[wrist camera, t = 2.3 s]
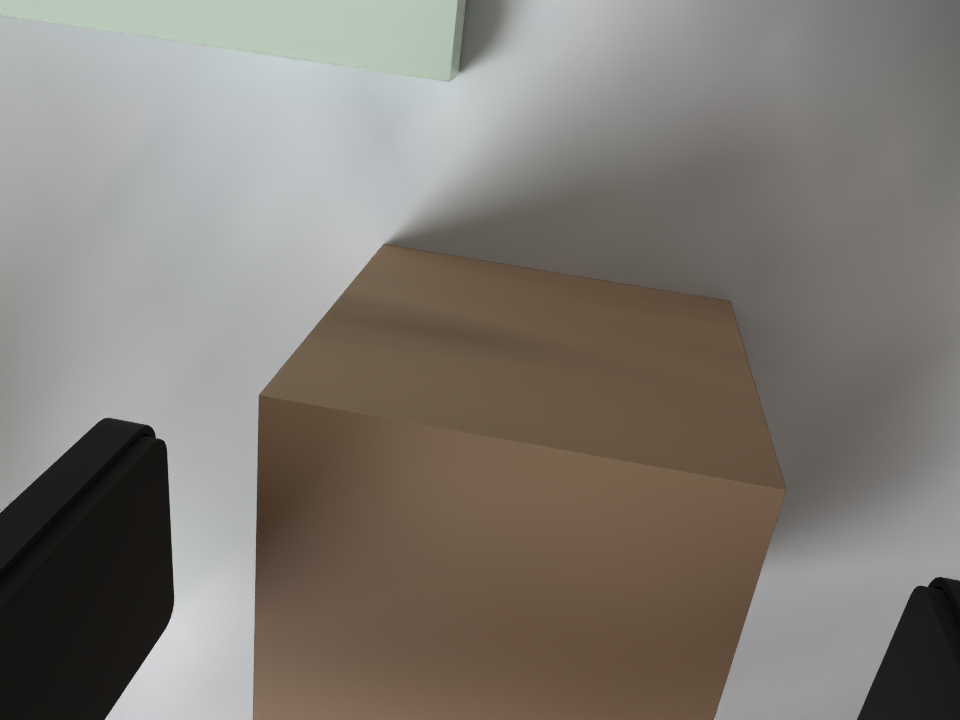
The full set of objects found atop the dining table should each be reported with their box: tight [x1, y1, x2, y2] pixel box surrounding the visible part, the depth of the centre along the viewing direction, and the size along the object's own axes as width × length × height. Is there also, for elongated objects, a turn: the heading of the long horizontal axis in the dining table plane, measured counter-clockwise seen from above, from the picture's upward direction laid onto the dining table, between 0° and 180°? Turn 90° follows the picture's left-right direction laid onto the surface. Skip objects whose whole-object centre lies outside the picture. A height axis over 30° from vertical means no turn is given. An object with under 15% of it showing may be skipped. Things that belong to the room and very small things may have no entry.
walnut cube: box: [253, 244, 786, 720], centre depth 14 cm, size 6×6×6 cm
